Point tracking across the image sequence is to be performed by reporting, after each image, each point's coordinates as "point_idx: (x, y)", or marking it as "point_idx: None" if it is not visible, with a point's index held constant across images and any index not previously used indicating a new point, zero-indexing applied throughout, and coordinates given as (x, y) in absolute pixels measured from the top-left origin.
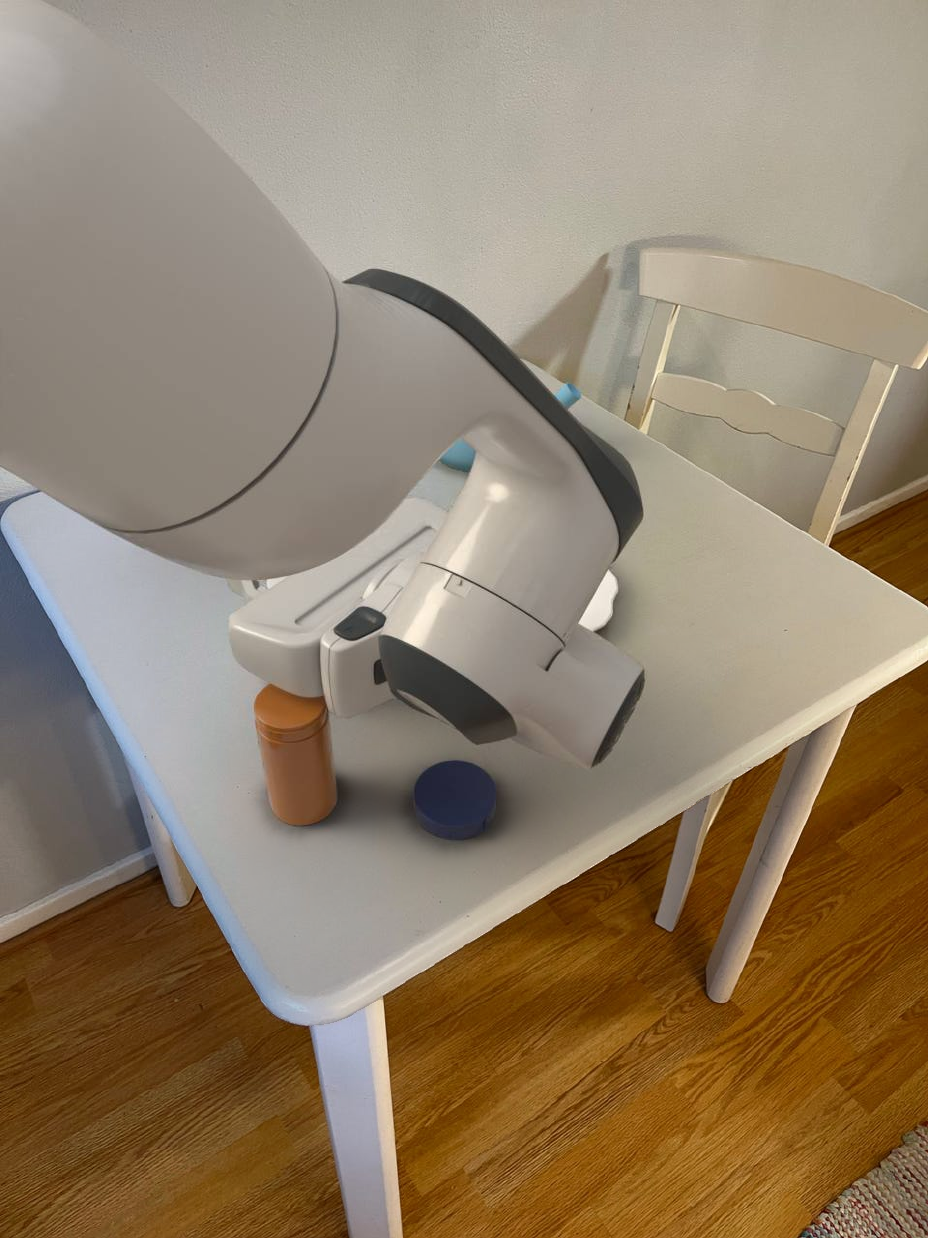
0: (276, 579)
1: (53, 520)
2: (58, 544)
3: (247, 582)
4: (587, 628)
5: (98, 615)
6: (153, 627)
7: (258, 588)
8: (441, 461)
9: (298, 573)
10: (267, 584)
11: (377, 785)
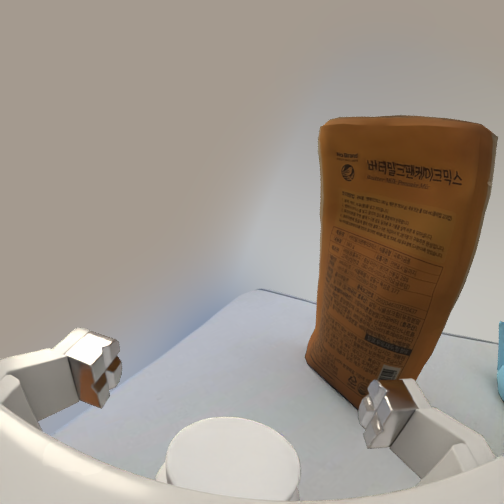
0: (210, 431)
1: (256, 303)
2: (241, 312)
3: (36, 356)
4: None
5: (194, 352)
6: (202, 384)
7: (9, 376)
8: (501, 397)
9: (26, 446)
10: (189, 425)
11: None
